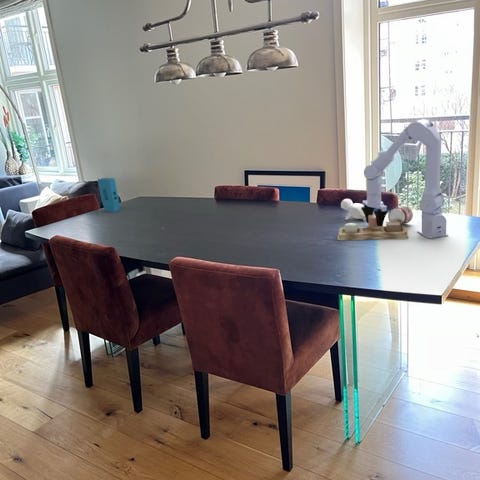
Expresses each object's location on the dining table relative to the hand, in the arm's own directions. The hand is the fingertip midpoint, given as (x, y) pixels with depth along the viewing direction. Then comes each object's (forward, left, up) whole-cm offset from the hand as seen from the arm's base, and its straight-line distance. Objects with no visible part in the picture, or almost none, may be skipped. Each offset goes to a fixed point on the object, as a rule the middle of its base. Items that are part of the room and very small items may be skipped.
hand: (374, 224), depth 199 cm
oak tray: (-10, +5, -1) cm, 11 cm away
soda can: (+1, -14, +2) cm, 14 cm away
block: (+108, +126, -2) cm, 166 cm away
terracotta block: (0, 0, -1) cm, 1 cm away
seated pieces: (-10, +5, -1) cm, 11 cm away
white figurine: (+18, +2, -2) cm, 18 cm away
